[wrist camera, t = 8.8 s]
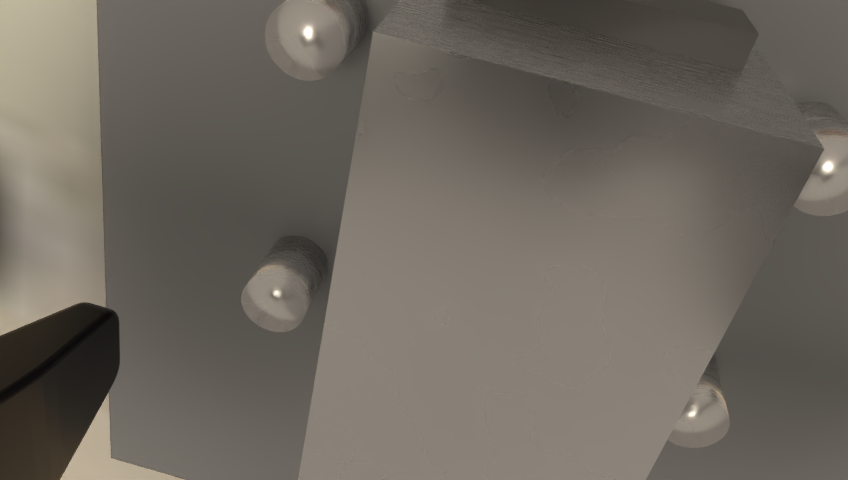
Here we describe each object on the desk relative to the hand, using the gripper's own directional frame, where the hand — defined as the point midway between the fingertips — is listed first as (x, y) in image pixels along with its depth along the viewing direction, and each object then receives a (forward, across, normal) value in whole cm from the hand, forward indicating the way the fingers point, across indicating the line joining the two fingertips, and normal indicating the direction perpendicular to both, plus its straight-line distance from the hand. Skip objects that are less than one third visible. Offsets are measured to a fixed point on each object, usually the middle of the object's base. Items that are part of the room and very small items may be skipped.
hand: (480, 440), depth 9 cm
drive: (+6, 0, 0) cm, 6 cm away
